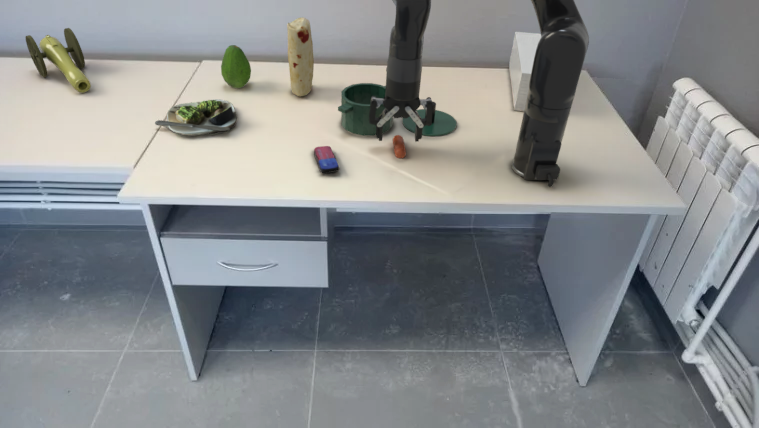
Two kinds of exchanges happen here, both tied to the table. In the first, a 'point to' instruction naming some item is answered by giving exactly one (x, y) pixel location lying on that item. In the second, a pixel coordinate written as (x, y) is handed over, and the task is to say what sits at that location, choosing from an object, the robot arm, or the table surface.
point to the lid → (433, 123)
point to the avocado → (235, 67)
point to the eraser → (326, 159)
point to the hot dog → (399, 146)
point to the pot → (361, 108)
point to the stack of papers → (522, 66)
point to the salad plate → (200, 117)
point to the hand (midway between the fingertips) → (398, 139)
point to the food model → (300, 56)
